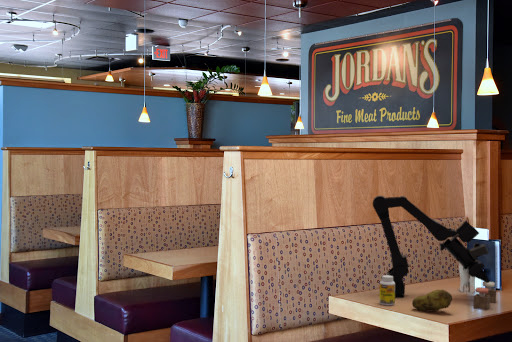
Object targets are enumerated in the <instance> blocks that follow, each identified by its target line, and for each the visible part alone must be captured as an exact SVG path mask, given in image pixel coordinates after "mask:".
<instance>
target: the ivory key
mask: <svg viewBox="0 0 512 342" xmlns="http://www.w3.org/2000/svg"><path fill="white" fill-rule="evenodd" d="M495 285H496V283H495V281H490V282H488V283H487V282H485V281H482V287H485V288H487V289H488V290H491V288H494V287H495Z"/></svg>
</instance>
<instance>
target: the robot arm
mask: <svg viewBox="0 0 512 342" xmlns="http://www.w3.org/2000/svg"><path fill="white" fill-rule="evenodd" d="M372 208H373V209H374V211H375V212H376V215H377V217H378V219H379V221H380V224H381V227H382V228H383V229H382V230H383V233H384V236H385V239H386V241H387V246H388V250H389V253H390V257H391V264H392V265H391V266H392V267H391V268H390V269H389V270H388V271H387V273H386V275H389V276H393V281H394V282H395V298H404V296H405V293H406V292H405V291H406V285H405V282H404V277H406V276H407V275H408V274H409V268H410V264H409V262H408V259H407V258H408V257H407V254H402V253H401V250H400V247H399V244H398V240H397V237H396V233H395V232H394V231H395V230H394V227H393V225H392V221H391V218H390V211H389V209H392V208H393V209H394V208H402V209H403V210H405V211H406V212H407V213H408V214H410V215H411V216H412V217H413V218H415V219H416V221H418V222H419V223H421V224H422V225H423V226H424V227H425V228H426V229H427V230H428V231H429V233H430V234H431V235H432V236H433V237H434V238H435V239H436V240H437V241H439V250H440V251H441V252H443V251H444V250H447V252H448V253H449V254H450V255H451V256H452V257H453V258H454V259H455V260H456V261H457V262H458V264H459V263H460V264H461V265H462V266H463V267H464V268H465V269H466V270H467V272H468V273H469V274H470V275H471V276H472V277H475V279H479V280H481V281H482V282H487V283H488V282H491V281H490V279H489V277H488V276H487V274H486V273H485V271H484V268H485V265H484V263H483V262H482V261H481V260H479V257H480V258H481V256H484V255H485V256H486V255H488V254H489V250H488V248H487V247H486V244H484V243H483V244H482V243H481V244H479V242H476V243H473V247H472V248H470V249H469V248H468V247H466V246H465V245H464V244H463V243H468V244H469V243H470V242H471V241H473V239H475V238H476V237H477V236H478V235H479V234H480V232H479V231H478V230H477V229H476V228H475V227H474V226H472V225H471V223H469V222H468V221H467V220H464V221H463V222H462V224H460V225H459V226H458V228H456V229H454V228H447V227H446V226H445V225H443V224H442V223H440V222H439V221H436V220H434V218H431V217H430V216H428V215H427V214H426V213H425V212H424V211H422V210H421V209H420V208H419V207H417V206H416V205H415V204H414V203H412V202H411V201H410V200H408V198H407V196H404V195H400V196H391V197H390V196H389V197H387V196H384V195H377V196H375V197H373V200H372ZM449 238H450V239H449ZM476 260H477V261H476Z"/></svg>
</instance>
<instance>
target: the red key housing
mask: <svg viewBox="0 0 512 342" xmlns="http://www.w3.org/2000/svg"><path fill="white" fill-rule="evenodd" d="M490 308H491V302H490V295H485V297H481V296H479V293H475V295H473V309H476V310H483V311H488V310H489V309H490Z"/></svg>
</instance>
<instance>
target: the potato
mask: <svg viewBox="0 0 512 342" xmlns="http://www.w3.org/2000/svg"><path fill="white" fill-rule="evenodd" d="M452 301H453V295H452V294H451V293H450V292H449V291H447V290H445V289H436V290H432V291H430V292H429V293H427V294H423V295H419V296H416V297H415V298H413V300H412V304H411V305H412V307H413V308H415V309H416V310H417V311H425V312H427V311H428V312H436V311H439V310H442V309H447V308H449V306H450V305H451V302H452Z"/></svg>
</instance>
